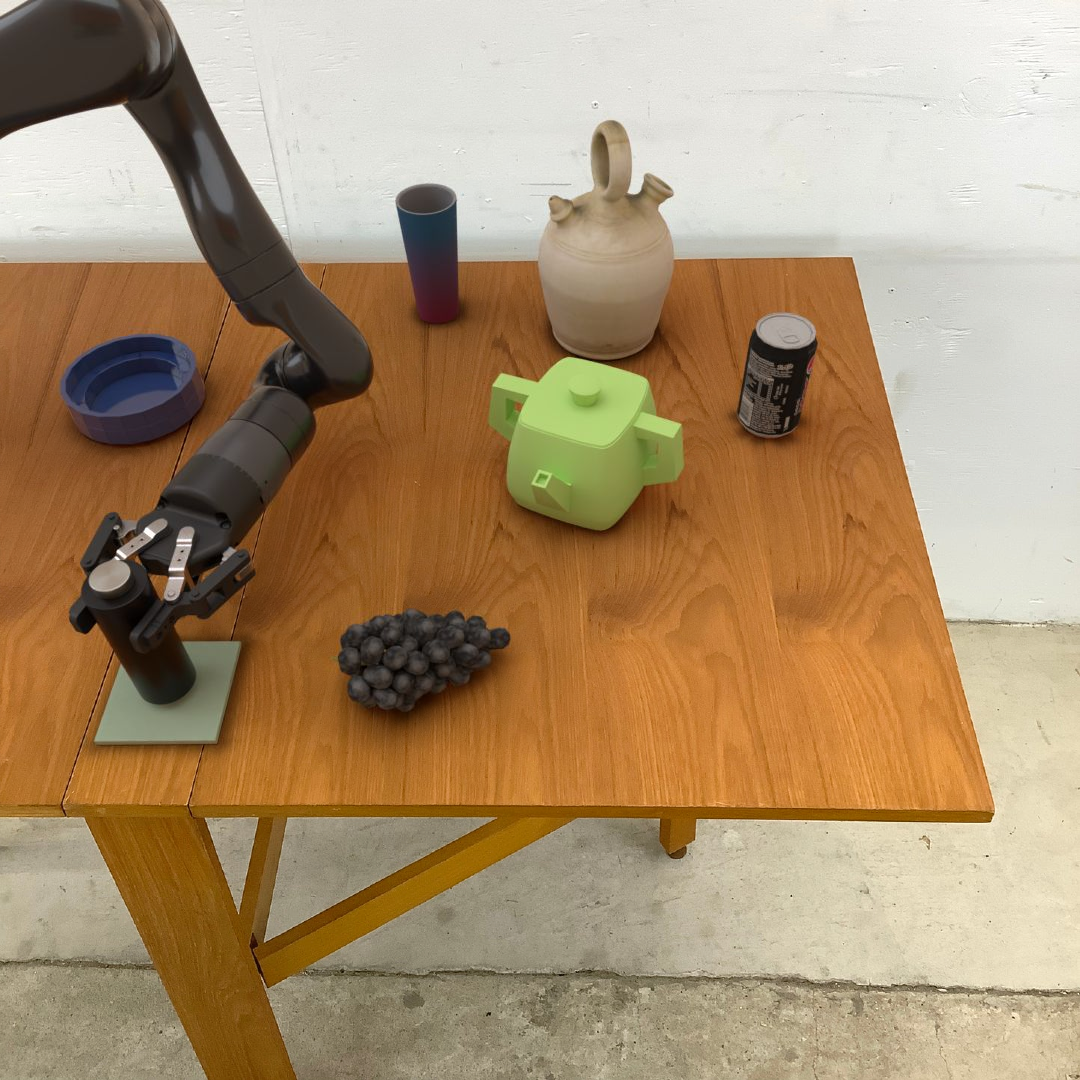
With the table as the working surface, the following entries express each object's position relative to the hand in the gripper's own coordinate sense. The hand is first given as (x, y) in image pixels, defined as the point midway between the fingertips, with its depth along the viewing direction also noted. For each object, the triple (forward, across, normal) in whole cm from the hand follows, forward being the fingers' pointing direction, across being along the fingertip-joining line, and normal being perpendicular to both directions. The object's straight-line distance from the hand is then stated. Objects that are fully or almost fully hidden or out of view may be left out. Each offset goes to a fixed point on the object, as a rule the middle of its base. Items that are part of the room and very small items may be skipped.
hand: (107, 635), depth 74 cm
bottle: (-3, 0, +10) cm, 10 cm away
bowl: (-34, -25, +12) cm, 44 cm away
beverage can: (-54, +41, +12) cm, 69 cm away
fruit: (-11, +20, +12) cm, 26 cm away
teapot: (-36, +25, +12) cm, 45 cm away
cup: (-61, -1, +12) cm, 62 cm away
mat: (-2, 0, +12) cm, 12 cm away
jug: (-64, +19, +12) cm, 68 cm away
